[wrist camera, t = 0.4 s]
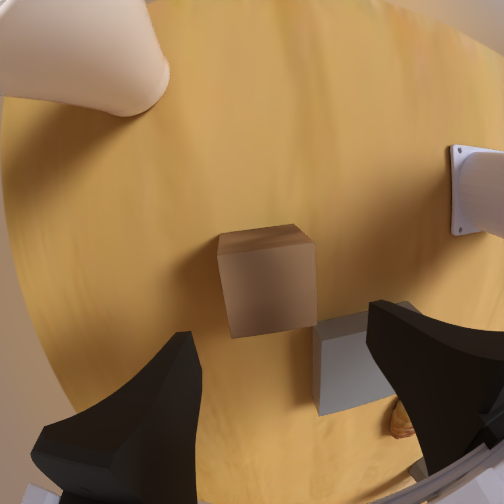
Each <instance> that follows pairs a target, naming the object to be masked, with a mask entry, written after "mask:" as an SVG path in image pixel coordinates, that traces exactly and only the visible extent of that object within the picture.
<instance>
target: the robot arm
mask: <svg viewBox="0 0 504 504" xmlns="http://www.w3.org/2000/svg"><path fill="white" fill-rule="evenodd" d="M458 149H459V152H458ZM450 153H451V168H452V226H451V232H452V234H453V235H455V236H459V235H464V234H470V233H475V232H481V231H485V232H488V233H490V234H493V235H496V236H498V237H501V238H503V239H504V152H503V151H497V150H491V149H485V148H479V147H472V146H464V145H456V144H453V145H451V147H450ZM459 228H460V229H459ZM366 345H367V347H368V349H369V351H370V353H371V355H372V357H373V359H374V361H375V363H376V364H377V366H378V367H379V369H380V370H381V372H382V373H383V375H384V376H385V378H386V379H387V381H388V382H389V384H390V385H391V387H392V388H393V390H394V391H395V393H396V394H397V396H398V397H399V399H400V401H401V402H402V404H403V406H404V408H405V410H406V412H407V414H408V417H409V419H410V421H411V423H412V426H413V428H414V431H415V433H416V436H417V438H418V441H419V444H420V447H421V450H422V453H423V456H424V460H425V464H426V467H427V471H428V476H429V477H428V478H426V479H424V480H422V481H420V482H418V483H416V484H414V485H412V486H409V487H407V488H405V489H403V490H401V491H398V492H396V493H394V494H391V495H389V496H386V497H384V498H381V499H379V500H376V501H373V502H370V503H368V504H421V503H423V502H425V501H427V500H429V499H430V498H432V497H434V496H436V495H438V494H439V493H440V495H439V496H438V498H436V499H435V500H433V501H431V502H429V503H427V504H504V332H502V331H485V330H477V329H471V328H465V327H461V326H457V325H452V324H449V323H445V322H442V321H439V320H436V319H433V318H430V317H427V316H425V315H422V314H419V313H417V312H414V311H412V310H409V309H407V308H404V307H402V306H399V305H397V304H394V303H391V302H388V301H385V300H378V301H374V302H369V312H368V323H367V334H366ZM201 396H202V368H201V365H200V361H199V358H198V354H197V351H196V347H195V344H194V340H193V337H192V333H191V331H187V332H176V333H175V334H174V335H173V336H172V337H171V339H170V340H169V341H168V342H167V343H166V344H165V345H164V347H163V348H162V349H161V350H160V351H159V352H158V353H157V354H156V355H155V356H154V358H153V359H152V360H151V361H150V362H149V363H148V364H147V365H146V366H145V367H144V368H143V369H142V370H141V371H140V372H139V373H138V374H137V375H136V376H134V377H133V378H132V379H131V380H130V381H129V382H127V383H126V384H125V385H124V386H122V387H121V388H120V389H119V390H117V391H116V392H114V393H113V394H112V395H110V396H108V397H107V398H105V399H104V400H102V401H101V402H99V403H97V404H96V405H94V406H92V407H90V408H89V409H87V410H85V411H83V412H81V413H79V414H76V415H74V416H72V417H70V418H67V419H65V420H62V421H59V422H56V423H53V424H50V425H47V426H44V428H43V430H42V432H41V433H40V436H39V437H38V439H37V441H36V443H35V445H34V447H33V449H32V451H31V458H32V460H33V462H34V463H35V465H36V466H37V467H38V468H39V469H40V470H41V471H42V472H43V473H44V474H45V475H46V476H47V477H48V478H49V479H51V480H52V481H53V482H54V483H55V484H56V485H57V486H59V487H60V488H61V489H62V490H63V493H62V496H59V495H57V494H56V493H54V492H52V491H49V490H47V489H44V488H42V487H40V486H37V485H35V484H33V483H29V484H28V487H27V489H26V492H25V494H24V497H23V500H22V502H21V504H197V491H196V471H195V442H196V432H197V425H198V417H199V410H200V403H201ZM441 492H442V493H441Z"/></svg>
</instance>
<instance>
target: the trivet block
mask: <svg viewBox="0 0 504 504" xmlns="http://www.w3.org/2000/svg"><path fill="white" fill-rule="evenodd" d="M397 305H399V306H402V307H404V308H407V309H409V310H412V311H414V312H417V313H419V314H422V313H421V312H420V311H418V310H417V309H416V308H415V307H414V306H413V305H411V304H410V303H409V302H408V301H405V302H401V303H397ZM368 312H369V311H365V312H361V313H357V314H352V315H348V316H343V317H338V318H334V319H329V320H324V321H319V322H317V325H315V326H312V327H313V400H314V403H315V406H316V409H317V412H318V415H319V416H323V415H328V414H332V413H336V412H339V411H343V410H347V409H350V408H354V407H357V406H361V405H364V404H367V403H370V402H374V401H377V400H380V399H383V398H385V397H388V396H391V395H394V394H396V393H395V391H394V390H393V388H392V387H391V385H390V384H389V382H388V381H387V379H386V378H385V376H384V375H383V373H382V372H381V370H380V369H379V367H378V366H377V364H376V363H375V361H374V359H373V357H372V355H371V353H370V351H369V349H368V347H367V345H366V334H367V323H368ZM422 315H423V314H422Z"/></svg>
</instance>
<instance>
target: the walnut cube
mask: <svg viewBox="0 0 504 504" xmlns="http://www.w3.org/2000/svg"><path fill="white" fill-rule="evenodd" d="M217 260H218V266H219V272H220V278H221V284H222V289H223V295H224V300H225V306H226V311H227V317H228V322H229V327H230V333H231V338H232V339H233V338H241V337H249V336H256V335H263V334H269V333H275V332H282V331H288V330H293V329H299V328H305V327H310V326H315V325H317V287H316V262H315V243H314V242H313V241H312V240H311V239H310V238H309V237H308V236H307V235H306V234H305V233H303V232H302V231H301V230H300V229H299V228H298V227H297V226H295V225H294V224H288V225H280V226H273V227H265V228H258V229H250V230H243V231H235V232H228V233H221V234H220V237H219V244H218V251H217Z"/></svg>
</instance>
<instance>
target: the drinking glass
mask: <svg viewBox="0 0 504 504" xmlns="http://www.w3.org/2000/svg"><path fill="white" fill-rule="evenodd" d="M169 78H170V68H169V64H168V61H167V59H166V57H165V55H164V54H163V52H162V49H161V47H160V44H159V41H158V38H157V36H156V33H155V30H154V27H153V24H152V21H151V18H150V15H149V12H148V9H147V6H146V3H145V0H0V96H6V97H13V98H21V99H30V100H39V101H47V102H54V103H62V104H68V105H74V106H80V107H86V108H91V109H96V110H100V111H104V112H107V113H109V114H112V115H115V116H121V117H128V116H134V115H137V114H140V113H142V112H144V111H146V110H148V109H149V108H151V107H152V106H153V105H154V104H155V103H157V101H158V100H159V99H160V98H161V97H162V95H163V94H164V92H165V90H166V88H167V86H168V83H169Z"/></svg>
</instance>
